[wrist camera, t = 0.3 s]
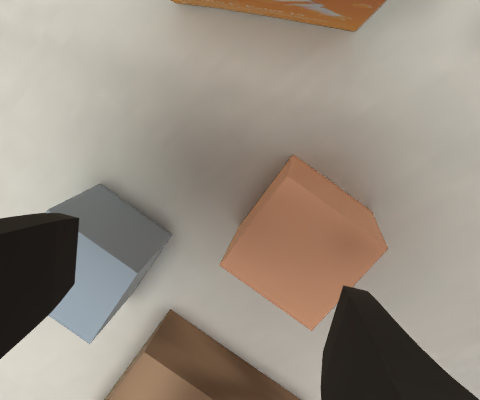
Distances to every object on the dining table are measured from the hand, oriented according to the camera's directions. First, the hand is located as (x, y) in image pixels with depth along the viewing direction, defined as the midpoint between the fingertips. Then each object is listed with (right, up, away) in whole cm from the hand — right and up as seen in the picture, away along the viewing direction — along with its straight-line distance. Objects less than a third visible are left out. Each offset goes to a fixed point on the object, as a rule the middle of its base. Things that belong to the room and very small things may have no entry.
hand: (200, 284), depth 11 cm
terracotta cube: (+4, +1, +9) cm, 10 cm away
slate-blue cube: (-5, 0, +11) cm, 12 cm away
